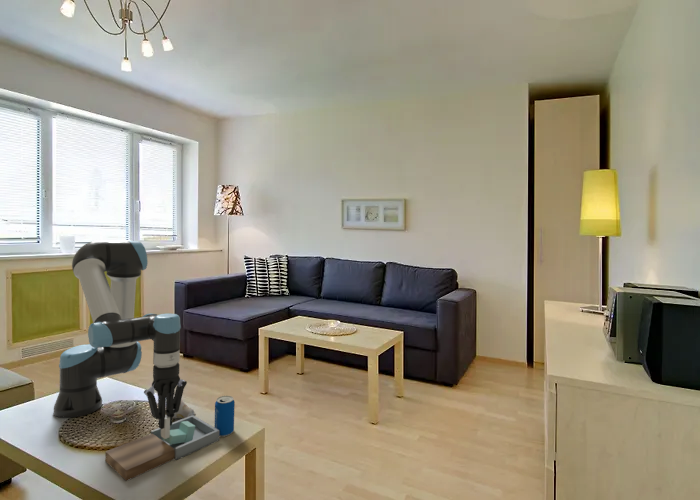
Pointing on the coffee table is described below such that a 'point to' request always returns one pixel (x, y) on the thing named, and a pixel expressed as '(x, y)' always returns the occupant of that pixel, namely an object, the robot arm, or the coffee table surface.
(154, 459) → the walnut board
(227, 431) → the beverage can
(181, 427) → the tile far
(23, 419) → the coffee table surface
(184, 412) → the mug
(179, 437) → the tile near
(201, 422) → the tray
